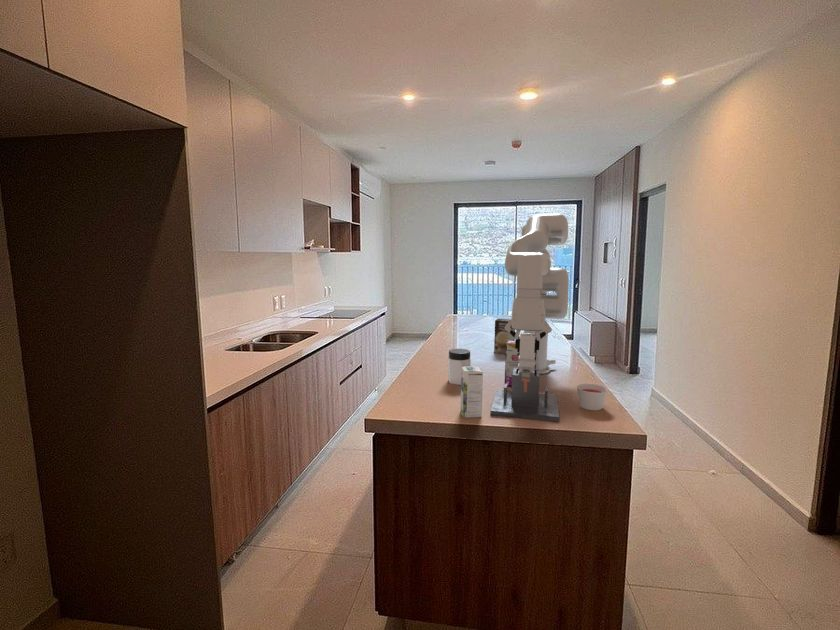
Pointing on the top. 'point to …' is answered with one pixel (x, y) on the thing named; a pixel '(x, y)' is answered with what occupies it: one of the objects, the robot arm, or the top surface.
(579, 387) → the candle
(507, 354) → the candy bar box
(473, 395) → the syrup box
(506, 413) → the stand base
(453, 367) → the jar
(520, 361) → the column
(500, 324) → the coffee box
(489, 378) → the top surface
